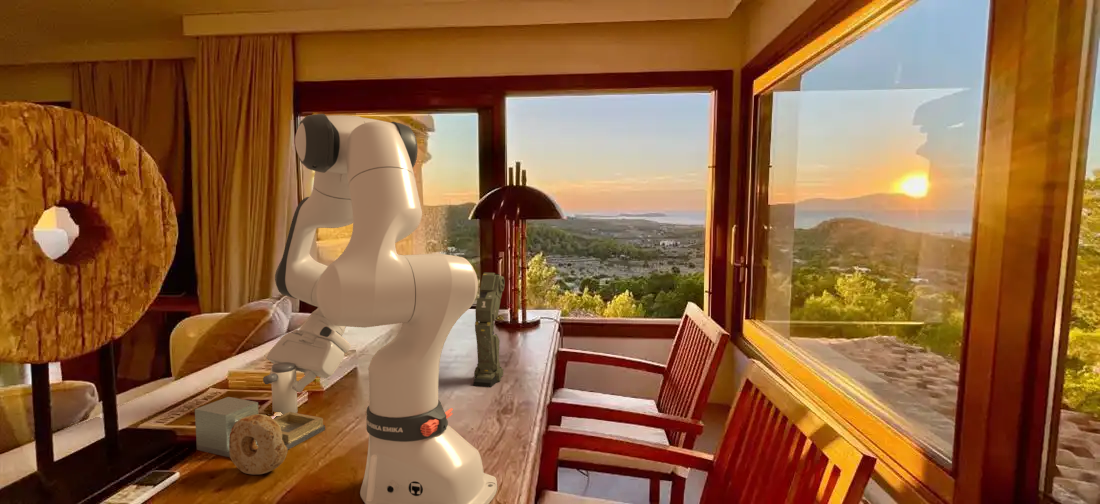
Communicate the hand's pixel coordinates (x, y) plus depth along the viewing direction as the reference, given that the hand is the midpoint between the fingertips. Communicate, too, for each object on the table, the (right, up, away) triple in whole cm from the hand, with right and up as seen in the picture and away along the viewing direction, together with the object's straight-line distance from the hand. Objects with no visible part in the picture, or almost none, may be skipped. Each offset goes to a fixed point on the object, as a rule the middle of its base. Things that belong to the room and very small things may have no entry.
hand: (282, 386), depth 120 cm
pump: (0, -6, 0) cm, 6 cm away
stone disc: (+8, -9, -26) cm, 28 cm away
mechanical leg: (+43, -5, +25) cm, 50 cm away
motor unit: (+3, -7, -13) cm, 15 cm away
